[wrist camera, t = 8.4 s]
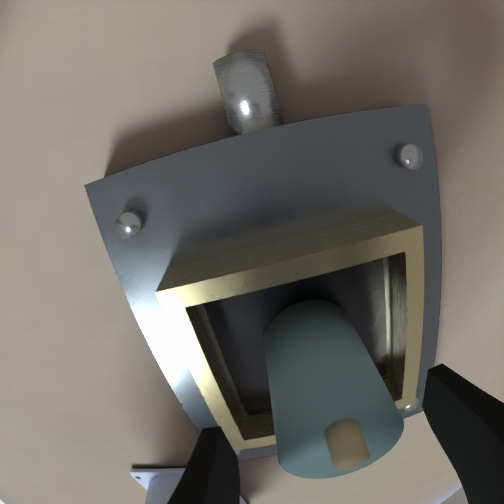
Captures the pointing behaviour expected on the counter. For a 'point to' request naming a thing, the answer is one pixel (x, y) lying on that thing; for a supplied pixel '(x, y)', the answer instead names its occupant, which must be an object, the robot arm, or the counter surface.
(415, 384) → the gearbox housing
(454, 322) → the counter surface
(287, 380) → the spout can
